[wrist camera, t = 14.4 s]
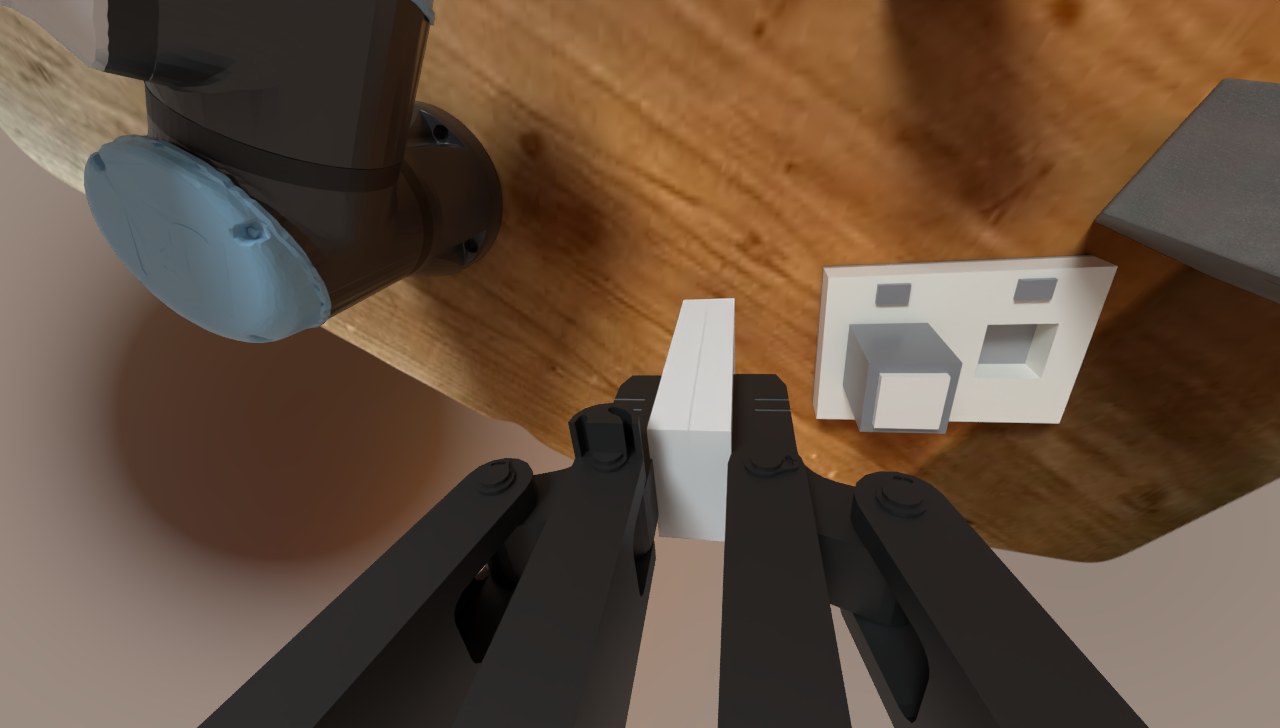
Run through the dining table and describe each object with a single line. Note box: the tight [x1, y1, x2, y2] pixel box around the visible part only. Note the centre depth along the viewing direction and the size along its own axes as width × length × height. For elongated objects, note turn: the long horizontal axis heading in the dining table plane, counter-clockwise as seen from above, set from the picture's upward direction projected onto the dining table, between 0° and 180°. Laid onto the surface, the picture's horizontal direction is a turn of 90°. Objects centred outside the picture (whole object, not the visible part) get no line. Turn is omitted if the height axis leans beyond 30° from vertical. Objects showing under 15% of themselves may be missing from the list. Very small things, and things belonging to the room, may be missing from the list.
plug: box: [843, 323, 963, 434], centre depth 39 cm, size 6×6×11 cm
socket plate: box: [812, 255, 1118, 423], centre depth 41 cm, size 20×14×3 cm
